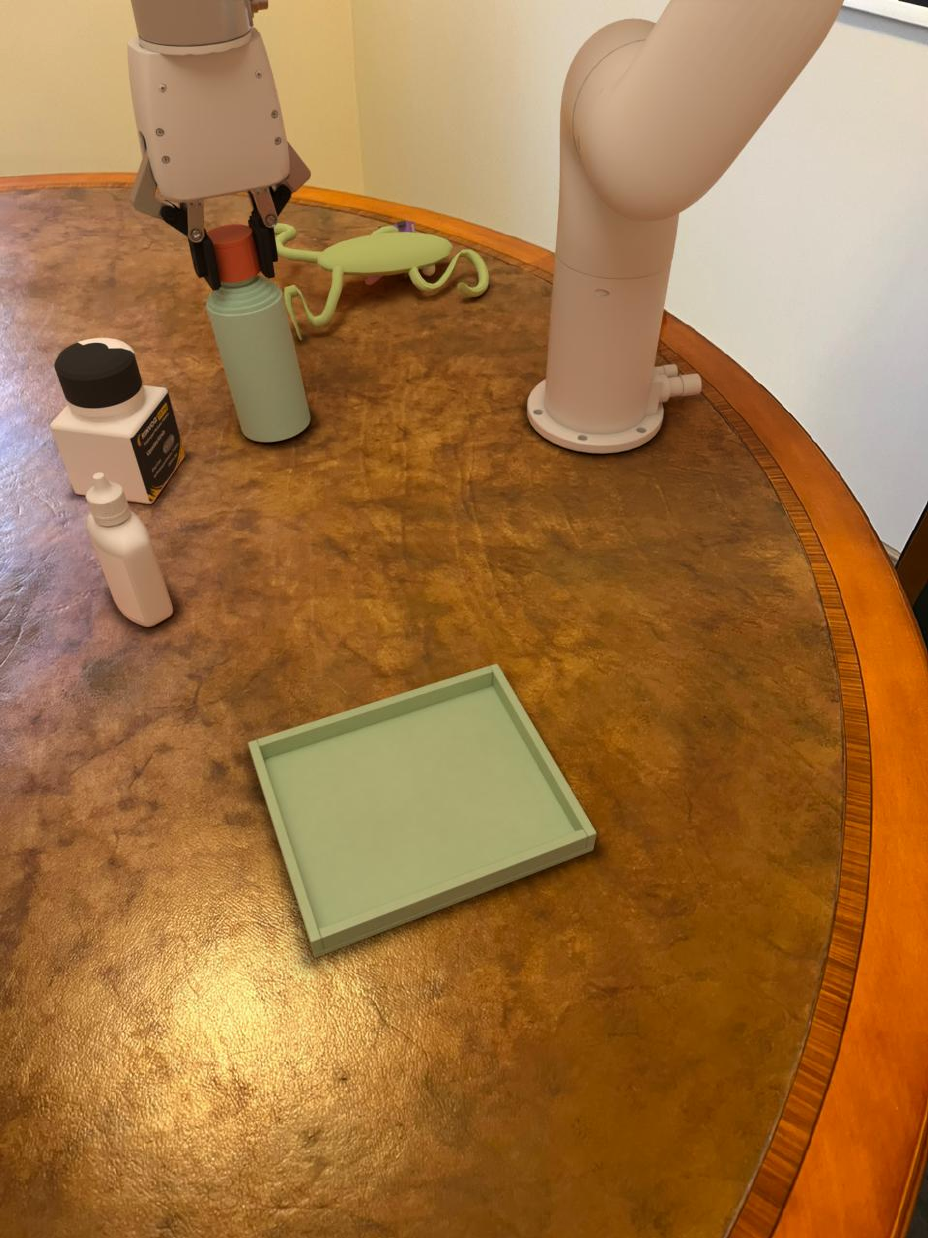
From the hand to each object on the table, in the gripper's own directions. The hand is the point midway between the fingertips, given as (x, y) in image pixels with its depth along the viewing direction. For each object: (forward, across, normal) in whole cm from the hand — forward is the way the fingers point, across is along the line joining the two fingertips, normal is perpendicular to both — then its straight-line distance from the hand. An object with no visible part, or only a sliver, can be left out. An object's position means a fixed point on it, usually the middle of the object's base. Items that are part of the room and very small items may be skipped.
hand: (238, 275), depth 75 cm
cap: (0, 0, -1) cm, 1 cm away
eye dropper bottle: (+15, +16, +18) cm, 28 cm away
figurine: (+15, -18, -21) cm, 31 cm away
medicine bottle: (+15, +13, +2) cm, 20 cm away
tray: (+14, +5, +43) cm, 46 cm away
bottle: (+14, -1, 0) cm, 14 cm away
